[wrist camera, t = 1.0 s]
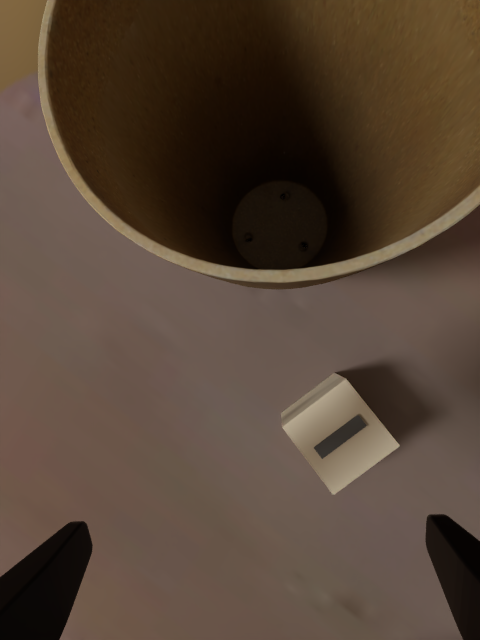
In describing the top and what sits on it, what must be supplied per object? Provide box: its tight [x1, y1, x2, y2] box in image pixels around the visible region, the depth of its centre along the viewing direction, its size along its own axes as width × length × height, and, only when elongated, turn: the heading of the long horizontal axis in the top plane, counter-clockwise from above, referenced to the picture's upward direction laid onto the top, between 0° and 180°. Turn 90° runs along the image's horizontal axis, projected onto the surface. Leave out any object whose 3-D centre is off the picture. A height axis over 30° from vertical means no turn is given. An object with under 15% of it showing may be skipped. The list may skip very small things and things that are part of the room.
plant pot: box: [38, 0, 480, 289], centre depth 17 cm, size 15×15×16 cm
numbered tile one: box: [281, 373, 400, 495], centre depth 21 cm, size 5×5×4 cm
